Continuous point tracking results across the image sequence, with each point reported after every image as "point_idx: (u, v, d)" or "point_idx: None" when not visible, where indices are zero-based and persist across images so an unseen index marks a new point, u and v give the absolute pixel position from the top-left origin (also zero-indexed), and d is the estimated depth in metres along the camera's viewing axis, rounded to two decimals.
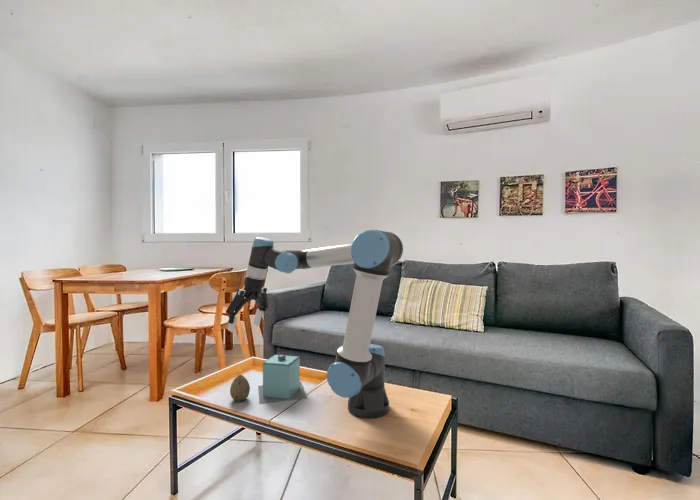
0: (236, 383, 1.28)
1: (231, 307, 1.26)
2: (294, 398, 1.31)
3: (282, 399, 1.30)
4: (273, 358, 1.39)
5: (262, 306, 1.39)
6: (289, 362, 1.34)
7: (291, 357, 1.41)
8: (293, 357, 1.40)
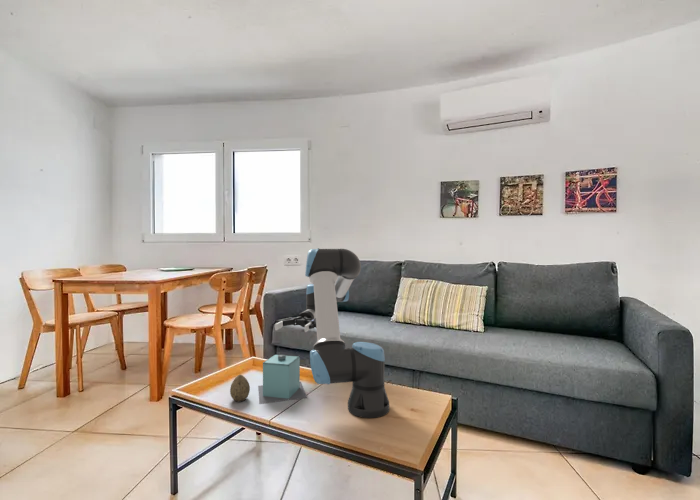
0: (236, 383, 1.28)
1: None
2: (294, 398, 1.31)
3: (282, 399, 1.30)
4: (273, 358, 1.39)
5: (311, 321, 1.54)
6: (289, 362, 1.34)
7: (291, 357, 1.41)
8: (293, 357, 1.40)
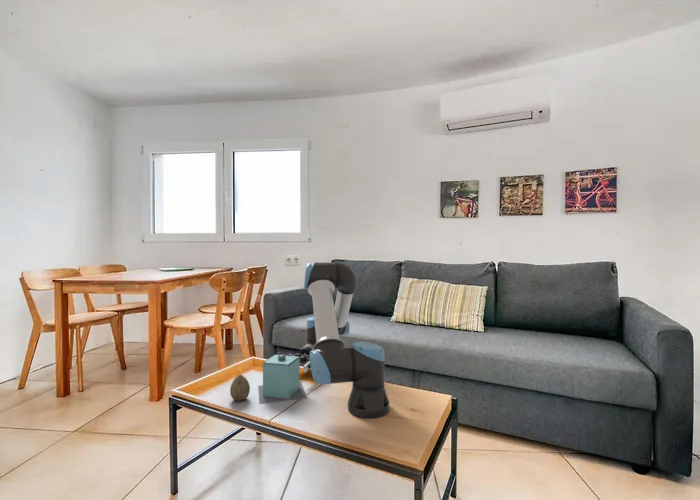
0: (236, 383, 1.28)
1: None
2: (294, 398, 1.31)
3: (282, 399, 1.30)
4: (273, 358, 1.39)
5: None
6: (289, 362, 1.34)
7: (291, 357, 1.41)
8: (293, 357, 1.40)
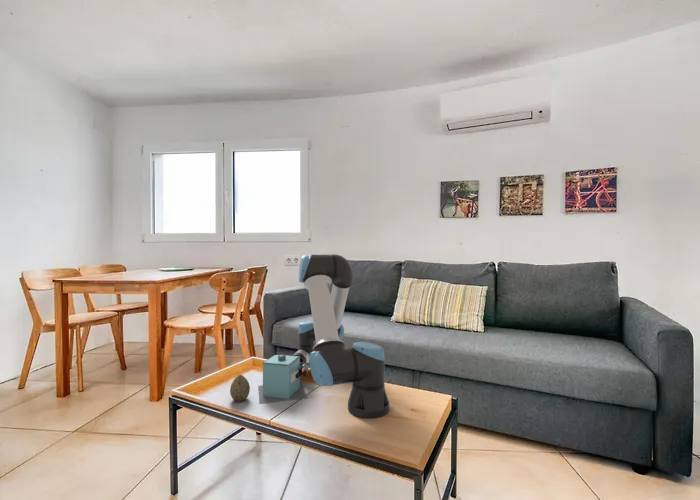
0: (236, 383, 1.28)
1: None
2: (294, 398, 1.31)
3: (282, 399, 1.30)
4: (273, 358, 1.39)
5: (299, 368, 1.41)
6: (289, 362, 1.34)
7: (291, 357, 1.41)
8: (293, 357, 1.40)
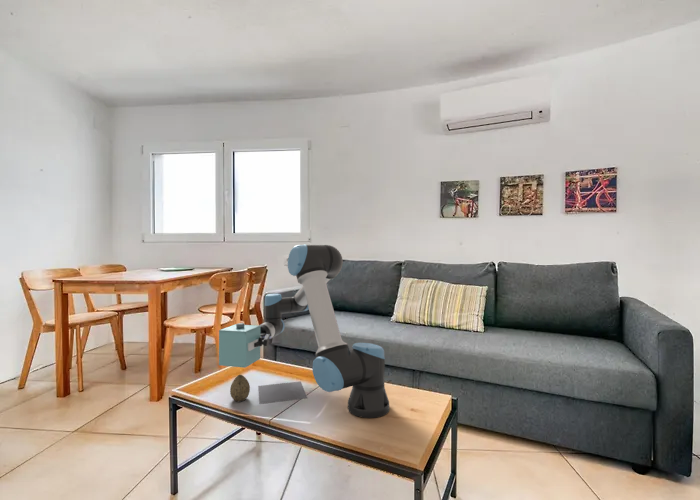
0: (236, 383, 1.28)
1: None
2: (294, 398, 1.31)
3: (282, 399, 1.30)
4: (232, 327, 1.32)
5: None
6: (247, 330, 1.27)
7: (251, 326, 1.34)
8: (253, 326, 1.33)
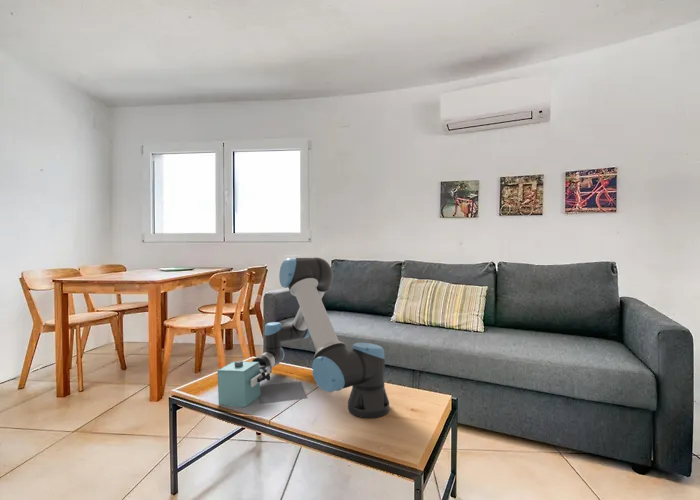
0: None
1: None
2: (294, 398, 1.31)
3: (282, 399, 1.30)
4: (230, 365, 1.32)
5: (262, 372, 1.34)
6: (245, 368, 1.27)
7: (249, 362, 1.34)
8: (251, 363, 1.33)
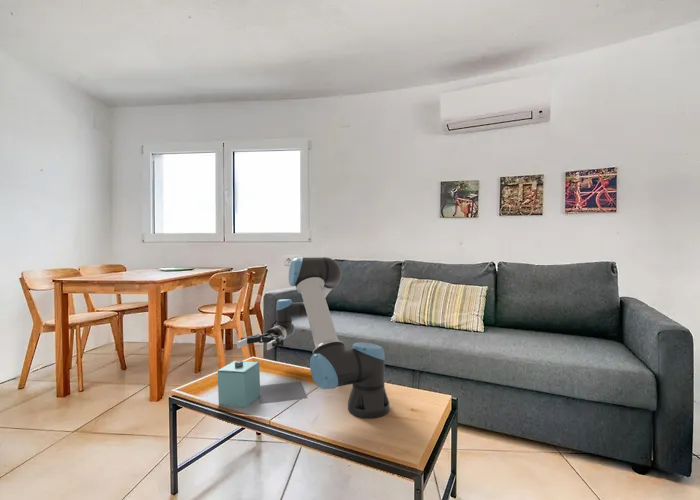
0: None
1: None
2: (294, 398, 1.31)
3: (282, 399, 1.30)
4: (230, 365, 1.32)
5: (276, 339, 1.48)
6: (245, 369, 1.26)
7: (249, 363, 1.34)
8: (252, 363, 1.33)
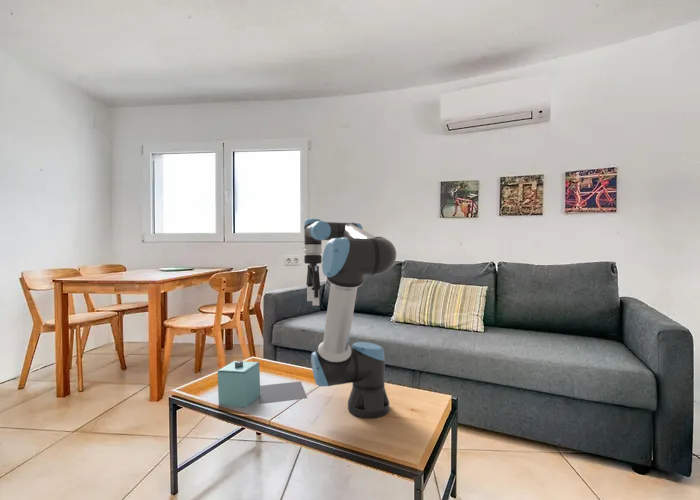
0: None
1: (317, 282, 1.40)
2: (294, 398, 1.31)
3: (282, 399, 1.30)
4: (230, 365, 1.32)
5: None
6: (245, 369, 1.26)
7: (249, 363, 1.34)
8: (252, 363, 1.33)
